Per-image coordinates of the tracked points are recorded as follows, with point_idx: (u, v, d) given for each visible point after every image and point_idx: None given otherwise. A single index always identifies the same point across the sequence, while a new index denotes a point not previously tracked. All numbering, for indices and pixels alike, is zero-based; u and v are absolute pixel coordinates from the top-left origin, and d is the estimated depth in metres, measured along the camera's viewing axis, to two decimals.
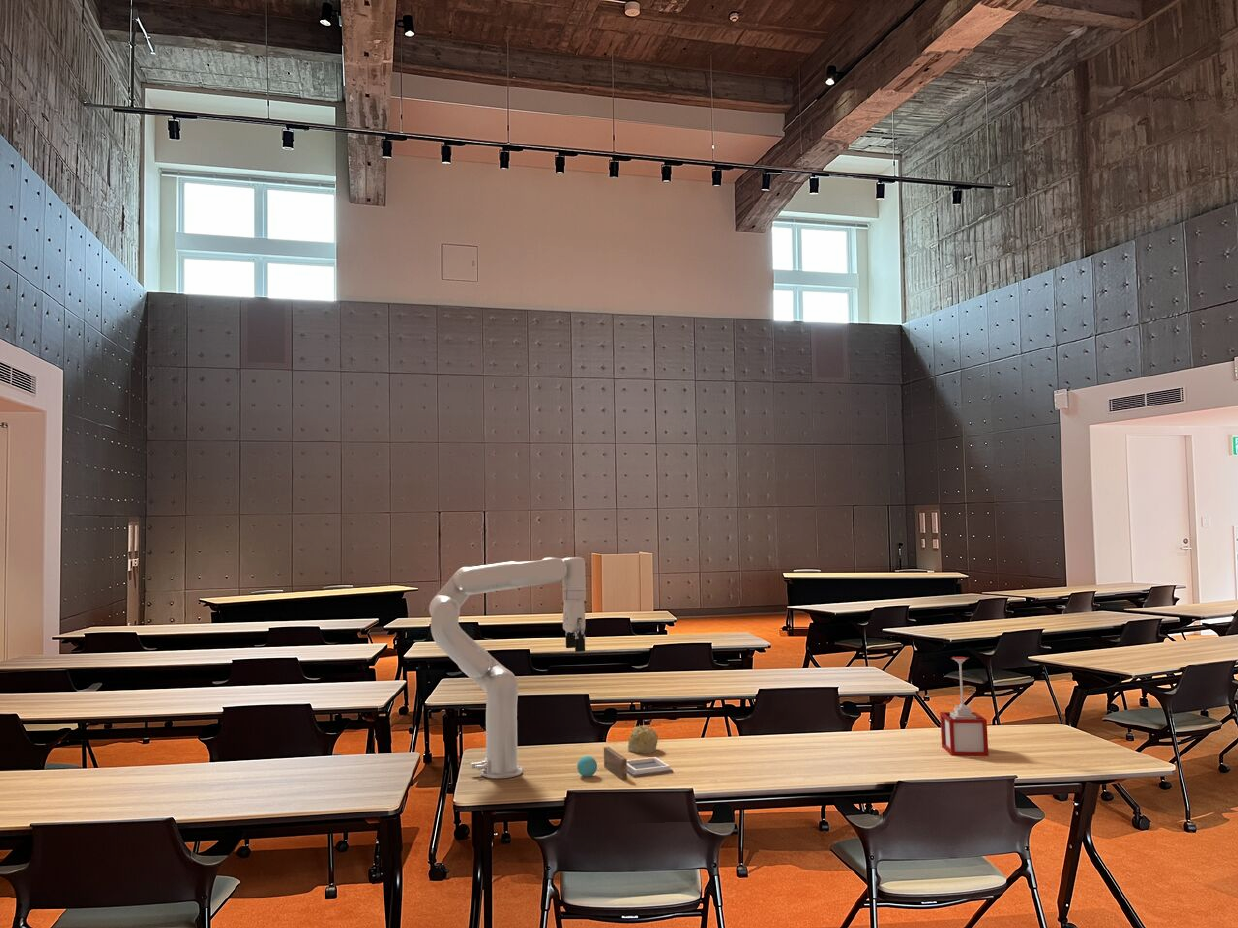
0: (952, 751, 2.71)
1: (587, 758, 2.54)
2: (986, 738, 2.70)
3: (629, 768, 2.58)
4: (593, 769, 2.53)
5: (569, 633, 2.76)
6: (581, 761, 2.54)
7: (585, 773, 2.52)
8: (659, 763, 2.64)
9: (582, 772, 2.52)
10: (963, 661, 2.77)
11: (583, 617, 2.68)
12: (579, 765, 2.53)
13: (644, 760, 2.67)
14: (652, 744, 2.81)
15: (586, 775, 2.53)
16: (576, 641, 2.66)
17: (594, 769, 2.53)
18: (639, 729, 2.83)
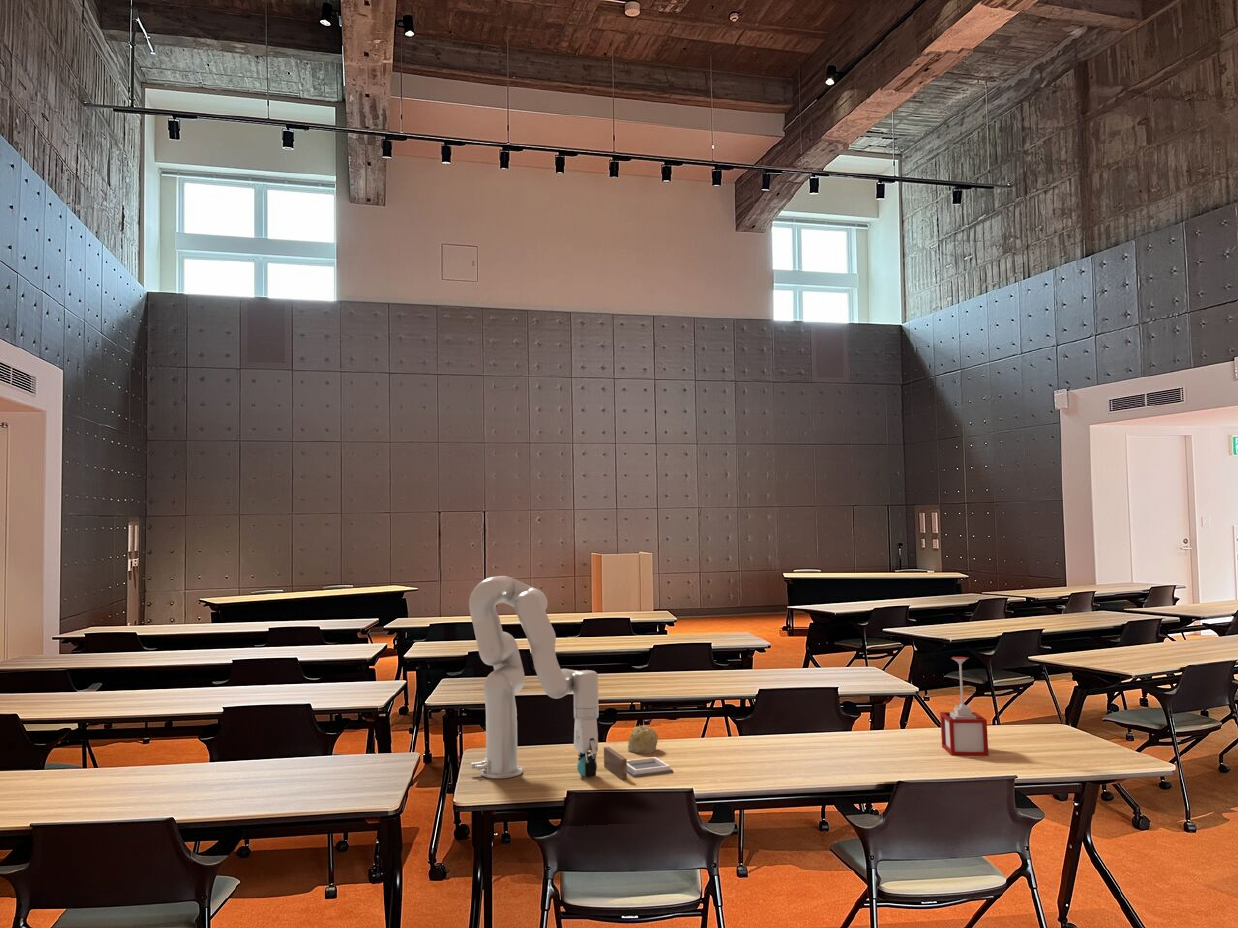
0: (952, 751, 2.71)
1: None
2: (986, 738, 2.70)
3: (629, 768, 2.58)
4: None
5: (582, 754, 2.58)
6: (581, 761, 2.54)
7: None
8: (659, 763, 2.64)
9: (582, 772, 2.52)
10: (963, 661, 2.77)
11: (595, 737, 2.52)
12: (579, 765, 2.53)
13: (644, 760, 2.67)
14: (652, 744, 2.81)
15: None
16: (586, 765, 2.51)
17: None
18: (639, 729, 2.83)
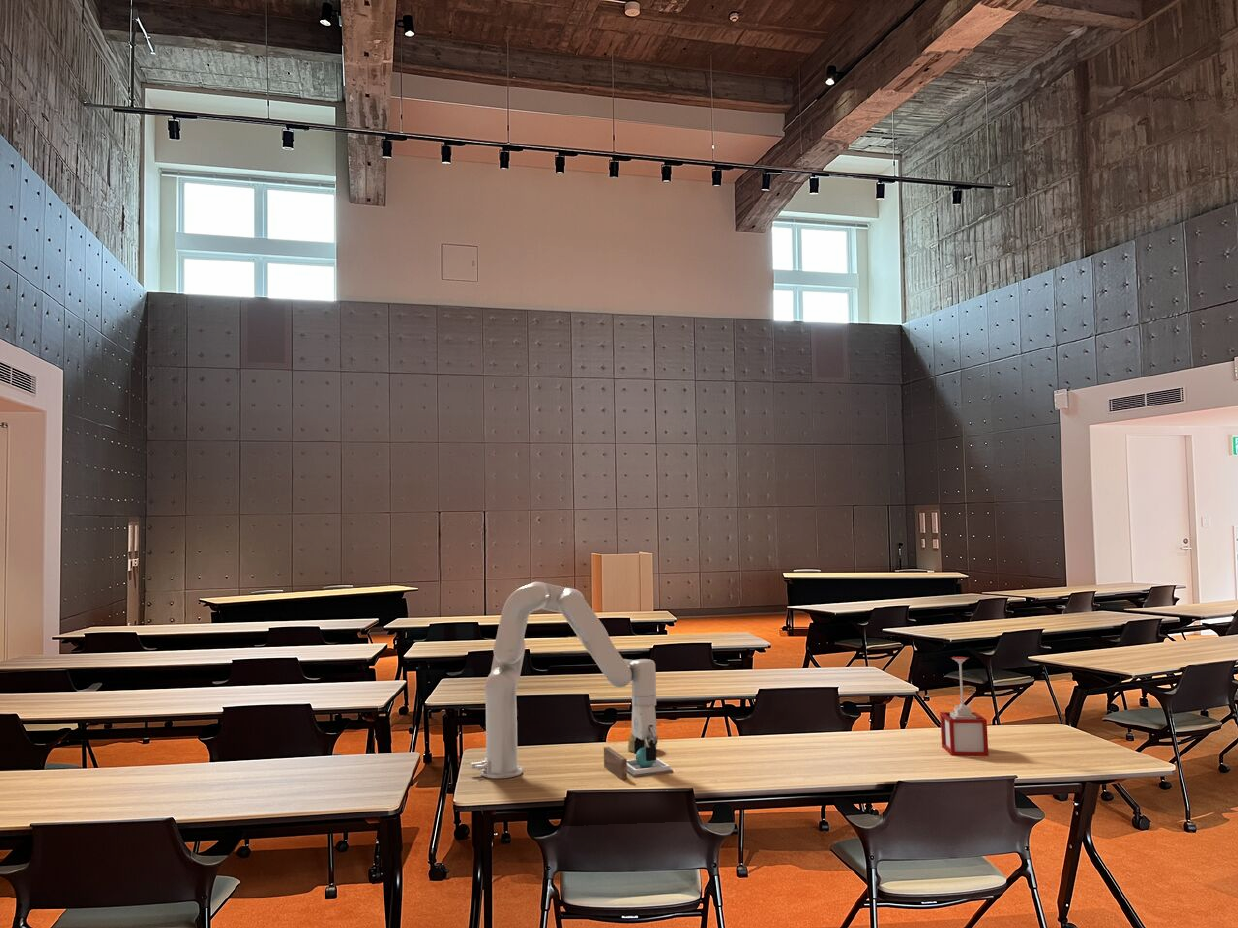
0: (952, 751, 2.71)
1: None
2: (986, 738, 2.70)
3: (629, 768, 2.58)
4: None
5: (638, 737, 2.66)
6: (640, 752, 2.60)
7: (644, 764, 2.59)
8: (659, 763, 2.64)
9: (641, 763, 2.59)
10: (963, 661, 2.77)
11: (654, 724, 2.58)
12: (638, 756, 2.60)
13: None
14: None
15: (645, 766, 2.60)
16: (647, 750, 2.57)
17: None
18: None
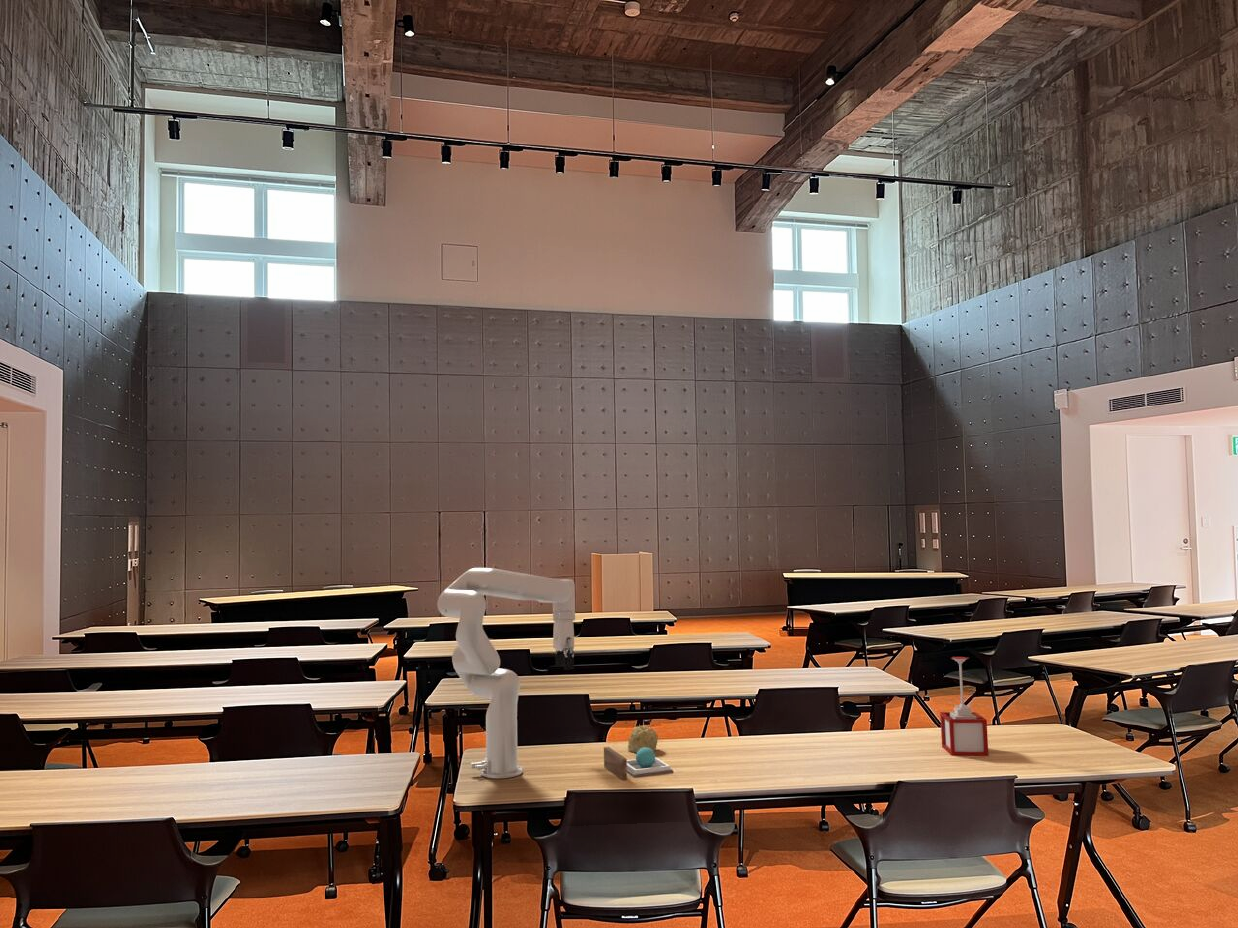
0: (952, 751, 2.71)
1: (646, 749, 2.60)
2: (986, 738, 2.70)
3: (629, 768, 2.58)
4: (652, 760, 2.59)
5: (559, 651, 2.90)
6: (640, 752, 2.60)
7: (644, 764, 2.59)
8: (659, 763, 2.64)
9: (641, 763, 2.59)
10: (963, 661, 2.77)
11: (572, 636, 2.82)
12: (638, 756, 2.60)
13: None
14: (652, 744, 2.81)
15: (645, 766, 2.59)
16: (565, 659, 2.80)
17: (653, 760, 2.60)
18: (639, 729, 2.83)
